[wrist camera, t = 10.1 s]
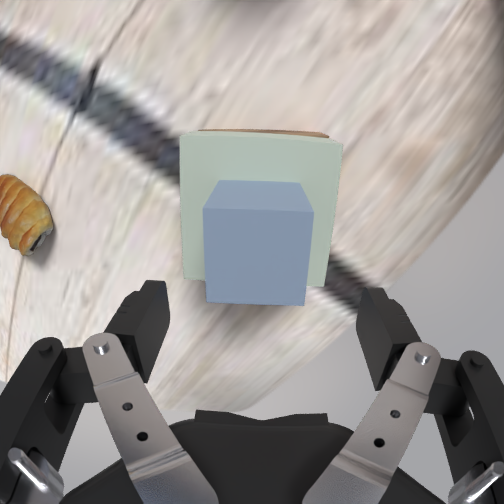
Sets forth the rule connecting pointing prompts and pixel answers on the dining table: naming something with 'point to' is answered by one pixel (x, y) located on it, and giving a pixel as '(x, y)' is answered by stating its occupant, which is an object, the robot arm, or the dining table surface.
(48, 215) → the pastry
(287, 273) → the block
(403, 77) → the dining table surface
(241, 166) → the tower top
